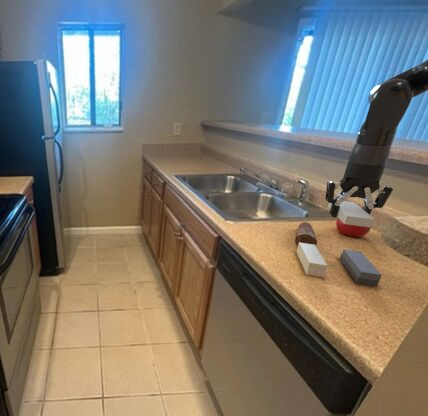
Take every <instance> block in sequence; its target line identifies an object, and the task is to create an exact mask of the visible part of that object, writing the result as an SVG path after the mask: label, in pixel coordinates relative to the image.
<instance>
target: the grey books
mask: <svg viewBox="0 0 428 416" xmlns="http://www.w3.org/2000/svg"><path fill="white" fill-rule="evenodd" d="M339 256H340V257H339V261H340V262H341V264H342V265H343V266H344V268H345V270H346V271H347V272H348V273H349V275H350V276H351V278H352V279H353V280H354V282H355V283H356V284H357V285H364V286H369V287H375V288H377V287H378V285H379V283H380V281H381V279H382V273H381V272H380V271H379V270H378V269H377V268H376V266H375V265H373V263H372V262H371V261H370V260H369V259H368V258H367V256H366V255H365V254H364V253H363V252H362V251H360V250H352V249H345V248H343V249H342V252H341V254H340V255H339Z"/></svg>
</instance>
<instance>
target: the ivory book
mask: <svg viewBox="0 0 428 416" xmlns="http://www.w3.org/2000/svg"><path fill="white" fill-rule="evenodd" d="M331 205H332V203H329V202H328V205H327V208H328V209H329V210H330V209H331ZM339 206H340V208H339V211H338V214H337V217H336V218H337V219H340V220H341V221H342V222H343V223H344V224H348V225H356V226H364V227H371V228H373V227H374V225H375V222H376V218H375V217H373V216H372V215H371V213H370V214H368V213H367V212H366V211H364V210H363V209H362V208H363V207H360V205H359V204H357V203H356V202H354V201H347V200H344V201H343V202H342V203H341V204H340V205H339Z"/></svg>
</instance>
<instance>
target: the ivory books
mask: <svg viewBox="0 0 428 416" xmlns="http://www.w3.org/2000/svg"><path fill="white" fill-rule="evenodd" d="M296 255H297V257H298V259H299V261H300V263H301V266H302V268H303V271H304V272H305V274H306V275H307V276H312V277H318V278H323V279H324V278H326V274H327V270H328V263H327V262H326V260H325V259H324V257H323V256H322V254H321V252H320V251H319V249H318V247H317V245H314V244H306V243H299V245H297V248H296Z"/></svg>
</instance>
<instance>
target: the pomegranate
mask: <svg viewBox="0 0 428 416" xmlns="http://www.w3.org/2000/svg"><path fill="white" fill-rule="evenodd" d="M335 225H336V230H337V232H338V233H340V234H342V235H345V236H350V237H355V238H360V237H364V236H365V235H367V234H368V233H369V232H370V231H371V229H372V227H364V226H356V225H348V224H344V223H343V222H342V221H341V220H340V219H339V218H337V219H336V221H335Z"/></svg>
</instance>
